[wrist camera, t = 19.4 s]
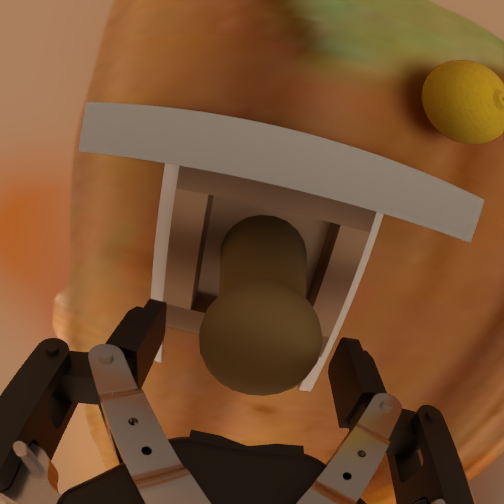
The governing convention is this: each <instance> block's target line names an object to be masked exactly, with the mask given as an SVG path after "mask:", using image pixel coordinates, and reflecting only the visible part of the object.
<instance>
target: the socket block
mask: <svg viewBox="0 0 504 504" xmlns="http://www.w3.org/2000/svg"><path fill="white" fill-rule="evenodd" d="M376 213H377V212H376V211H373V210H369V209H366V208H362V207H359V206H355V205H352V204H348V203H345V202H341V201H337V200H334V199H330V198H326V197H322V196H318V195H315V194H311V193H307V192H303V191H299V190H295V189H290V188H286V187H282V186H278V185H273V184H269V183H265V182H260V181H256V180H251V179H246V178H242V177H237V176H232V175H227V174H222V173H217V172H212V171H207V170H202V169H196V168H191V167H185V166H179V172H178V179H177V185H176V191H175V198H174V205H173V212H172V219H171V227H170V235H169V243H168V252H167V261H166V271H165V282H164V294H163V302H166V303H167V310H166V325H165V327H169V328H173V329H177V330H181V331H185V332H189V333H193V334H198V335H199V329H200V327H201V324H202V321H203V319H204V316H205V313H206V311H207V308H208V307H209V306H210V305H211V304H212V303H213V302H214V301H215V299H216V298H217V297H218V296H219V285H220V258H221V246H222V243H223V241H224V238H225V235H226V234H227V233H228V232H229V231H230V229H231V228H232V227H233V226H234V225H235V224H237V223H238V222H240V221H242V220H243V219H245V218H248V217H252V216H256V215H270V216H276V217H278V218H281V219H283V220H285V221H288V222H289V223H290V224H291V225H292V226H293V227H295V228H296V229H297V230H298V232H299V233H300V235H301V237H302V238H303V240H304V242H305V247H306V252H307V271H306V299H307V300H308V301H309V303H310V304H311V306H312V307H313V309H314V311H315V312H316V314H317V316H318V318H319V322H320V326H321V332H322V339H323V340H322V347H321V351H320V355H319V357H321V356H322V354H323V352H324V350H325V347H326V345H327V343H328V341H329V338H330V336H331V334H332V331H333V329H334V327H335V324H336V322H337V320H338V317H339V315H340V313H341V310H342V308H343V305H344V303H345V300H346V298H347V295H348V293H349V290H350V287H351V285H352V282H353V280H354V277H355V274H356V272H357V269H358V266H359V263H360V261H361V258H362V255H363V252H364V249H365V246H366V244H367V241H368V238H369V235H370V232H371V229H372V226H373V222H374V219H375V216H376Z"/></svg>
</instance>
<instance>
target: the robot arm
mask: <svg viewBox="0 0 504 504" xmlns="http://www.w3.org/2000/svg"><path fill="white" fill-rule="evenodd" d="M166 310H167V303H166V302H162V301H158V300H155V299H149V301H148V302H147V304H146V305H145V307H144V308H142V307H138V306H137V307H135V308H133V309H131V310H130V311H128V312H127V314H126V315H125V317H124V319H122V321H121V322H120V324H119V325H118V326H117V328H116V329H115V331H114V332H113V333H112V335H111V336H110V338H109V339H108V341H107V342H106V344H100V345H97V346H95V347H93V348H92V349H91V350H90V351H89V352H76V351H69V347H68V345H67V343H66V342H64V341H63V340H61V339H57V338H49V339H46V340H44V341H42V342H41V343H39V345H38V346H37V347H36V348H35V350H34V351H33V352H32V354H31V355H30V356H29V357H28V359H27V360H26V361H25V363H24V364H23V365H22V366H21V368H20V369H19V370H18V372H17V373H16V375H15V376H14V377H13V379H12V380H11V381H10V383H9V384H8V386H7V387H6V389H5V390H4V391H3V393H2V394H1V396H0V500H1V501H3V502H5V503H6V504H366V503H365V502H364V501H363V500H362V499H361V498H360V496H361V494H362V493H363V491H364V490H365V488H366V486H367V485H368V483H369V481H370V480H371V478H372V476H373V474H374V473H375V471H376V469H377V467H378V465H379V463H380V462H381V460H382V458H383V456H384V454H385V453H387V456H388V461H389V466H390V471H391V476H392V481H393V486H394V492H395V497H396V503H397V504H477V503H476V500H475V498H474V495H473V492H472V489H471V487H470V484H469V481H468V478H467V476H466V473H465V471H464V468H463V466H462V463H461V461H460V458H459V456H458V453H457V450H456V448H455V445H454V443H453V440H452V437H451V435H450V432H449V430H448V427H447V425H446V423H445V420H444V418H443V416H442V414H441V412H440V411H439V410H438V409H436V408H435V407H433V406H430V405H423V406H421V407H420V408H419V409H418V411H417V412H413V411H410V410H406V409H402V406H401V404H400V402H399V401H398V400H397V399H396V398H395V397H394V396H392V395H390V394H387V392H386V390H385V387H384V385H383V382H382V380H381V377H380V375H379V374H378V370H377V368H376V365H375V362H374V360H373V358H372V357H371V356H370V355H369V353H368V352H367V351H363V349H362V347H361V344H360V342H359V340H358V339H352V338H344V337H343V338H341V340H340V342H339V344H338V346H337V348H336V351H335V353H334V355H333V357H332V359H331V361H330V364H329V369H328V375H329V379H330V384H331V389H332V394H333V398H334V403H335V408H336V413H337V418H338V423H339V428H349V431H350V432H349V433H348V434H347V436H346V437H345V438H344V440H343V441H342V443H341V444H340V445H339V447H338V448H337V449H336V451H335V452H334V453H333V455H332V456H331V457H330V459H329V460H328V461H327V462H326V464H324V463H323V462H321V461H320V460H318V459H316V458H314V457H312V456H309V455H307V454H304V450H303V446H297V445H285V444H269V445H258V446H246V445H243V444H240V443H237V442H235V441H232V440H229V439H227V438H224V437H222V436H219V435H214V434H209V433H204V432H199V431H195V430H191V432H190V437H177V438H172V439H167V437H166V435H165V433H164V432H163V430H162V428H161V426H160V424H159V422H158V420H157V418H156V416H155V414H154V412H153V410H152V408H151V406H150V404H149V402H148V400H147V398H146V396H145V394H144V392H143V390H142V389H141V388H142V386H143V383H144V381H145V379H146V377H147V374H148V372H149V370H150V368H151V366H152V364H153V361H154V359H155V357H156V355H157V353H158V351H159V349H160V346H161V344H162V342H163V339H164V335H165V325H166ZM78 403H87V404H97V405H98V406H99V409H100V412H101V415H102V418H103V421H104V424H105V427H106V430H107V433H108V435H109V438H110V441H111V444H112V447H113V449H114V452H115V455H116V457H117V460H118V462H119V465H117V466H116V467H114V468H112V469H110V470H108V471H106V472H104V473H102V474H100V475H98V476H96V477H94V478H92V479H90V480H88V481H85V482H83V483H81V484H79V485H77V486H75V487H72V488H70V489H69V490H67V491H66V492H64V493H63V494H62V495H60V494H59V492H58V489H57V483H58V472H57V470H56V468H55V466H54V465H53V463H52V462H51V460H52V457H53V455H54V452H55V451H56V448H57V446H58V444H59V442H60V440H61V438H62V435H63V433H64V431H65V429H66V427H67V425H68V423H69V421H70V418H71V417H72V415H73V412H74V410H75V408H76V406H77V404H78Z"/></svg>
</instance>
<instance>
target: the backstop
mask: <svg viewBox="0 0 504 504" xmlns="http://www.w3.org/2000/svg"><path fill="white" fill-rule="evenodd" d="M79 151H80V152H89V153H98V154H106V155H114V156H121V157H128V158H135V159H142V160H149V161H155V162H162V163H165V168H164V174H163V181H162V188H161V195H160V203H159V210H158V219H157V228H156V237H155V247H154V259H153V271H152V286H151V299H155V300H158V301H162V302H163V294H164V282H165V271H166V261H167V252H168V243H169V235H170V227H171V219H172V212H173V205H174V198H175V191H176V185H177V179H178V172H179V166H185V167H191V168H196V169H202V170H207V171H212V172H217V173H222V174H227V175H232V176H237V177H242V178H246V179H251V180H256V181H260V182H265V183H269V184H273V185H278V186H282V187H286V188H290V189H295V190H299V191H303V192H307V193H311V194H315V195H318V196H322V197H326V198H330V199H334V200H337V201H341V202H345V203H348V204H352V205H355V206H359V207H362V208H366V209H369V210H373V211H376V212H377V213H376V216H375V219H374V222H373V226H372V229H371V232H370V235H369V238H368V241H367V244H366V246H365V249H364V252H363V255H362V258H361V261H360V263H359V266H358V269H357V272H356V274H355V277H354V280H353V282H352V285H351V287H350V290H349V293H348V295H347V298H346V300H345V303H344V305H343V308H342V310H341V313H340V315H339V317H338V320H337V322H336V324H335V327H334V329H333V331H332V334H331V336H330V338H329V341H328V343H327V345H326V347H325V350H324V352H323V354H322V356H321V357H319V359H318V362H317V364H316V365H315V366H314V368H313V369H312V370H311V372H310V373H309V375H308V376H307V377H306V378H305V380H303V381H302V382H300V384H299V386H298V388H299V390H302V391H311V389H312V388H313V386H314V384H315V382H316V380H317V378H318V376H319V374H320V372H321V370H322V368H323V366H324V363H325V361H326V359H327V357H328V355H329V353H330V351H331V349H332V347H333V344H334V342H335V340H336V338H337V336H338V333H339V331H340V329H341V327H342V324H343V322H344V320H345V317H346V315H347V313H348V310H349V308H350V305H351V303H352V301H353V298H354V296H355V293H356V291H357V288H358V286H359V283H360V280H361V278H362V275H363V273H364V270H365V267H366V265H367V262H368V259H369V256H370V254H371V251H372V248H373V245H374V242H375V239H376V236H377V233H378V230H379V227H380V224H381V221H382V218H383V215H384V214H386V215H389V216H393V217H396V218H399V219H402V220H405V221H408V222H412V223H415V224H418V225H421V226H424V227H427V228H430V229H433V230H436V231H439V232H441V233H444V234H447V235H450V236H453V237H456V238H458V239H461V240H464V241H467V242H469V243H471V240H472V237H473V235H474V232H475V229H476V226H477V223H478V220H479V217H480V214H481V210H482V207H483V204H484V200H483V199H481V198H479V197H477V196H475V195H473V194H471V193H469V192H467V191H465V190H463V189H461V188H458V187H456V186H454V185H452V184H450V183H447V182H445V181H443V180H441V179H438V178H436V177H434V176H431V175H429V174H426V173H424V172H422V171H419V170H417V169H414V168H412V167H409V166H406V165H404V164H401V163H398V162H396V161H393V160H390V159H388V158H385V157H382V156H379V155H376V154H373V153H370V152H367V151H364V150H361V149H358V148H355V147H352V146H349V145H346V144H342V143H339V142H336V141H332V140H329V139H325V138H322V137H318V136H315V135H311V134H307V133H303V132H299V131H295V130H291V129H287V128H283V127H279V126H274V125H270V124H265V123H261V122H256V121H251V120H246V119H241V118H236V117H230V116H225V115H219V114H213V113H206V112H200V111H193V110H185V109H177V108H169V107H160V106H149V105H138V104H123V103H103V102H86V105H85V111H84V117H83V123H82V130H81V137H80V145H79ZM162 358H163V342H162V344H161V346H160V349H159V351H158V353H157V355H156V357H155V359H154V361H157V362H160V363H161V361H162Z"/></svg>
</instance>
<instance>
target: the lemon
mask: <svg viewBox="0 0 504 504" xmlns="http://www.w3.org/2000/svg"><path fill="white" fill-rule="evenodd" d="M422 103H423V107H424V111H425V113H426V115H427V117H428V119H429V120H430V122H431V123H432V125H433V126H434V127H435V128H436V129H437V130H438V131H439V132H440V133H441V134H443V135H444V136H446V137H448V138H450V139H451V140H454V141H457V142H461V143H464V144H482V143H486V142H489V141H492V140H494V139H496V138H497V137H499V136H500V135H501V134H502V133H503V132H504V84H503V83H502V81H501V80H500V78H499V77H498V76H497V75H496V74H495V73H494V72H493V71H492V70H490V69H489V68H487V67H485V66H484V65H482V64H479V63H476V62H472V61H467V60H457V61H449V62H446V63H443V64H441V65H439V66H438V67H436V68H435V69H433V70H432V72H431V73H430V74H429V75H428V76H427V78H426V80H425V82H424V85H423V89H422Z"/></svg>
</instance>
